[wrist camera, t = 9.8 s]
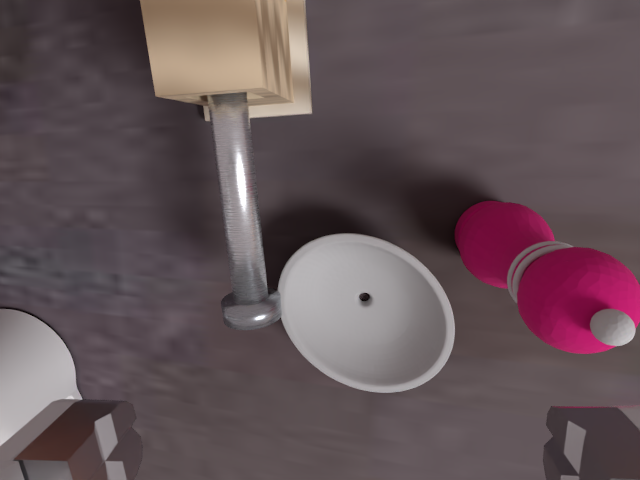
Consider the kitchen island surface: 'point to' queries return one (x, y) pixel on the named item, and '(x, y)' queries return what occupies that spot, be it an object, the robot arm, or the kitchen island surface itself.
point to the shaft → (241, 216)
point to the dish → (366, 312)
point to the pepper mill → (550, 278)
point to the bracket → (231, 52)
